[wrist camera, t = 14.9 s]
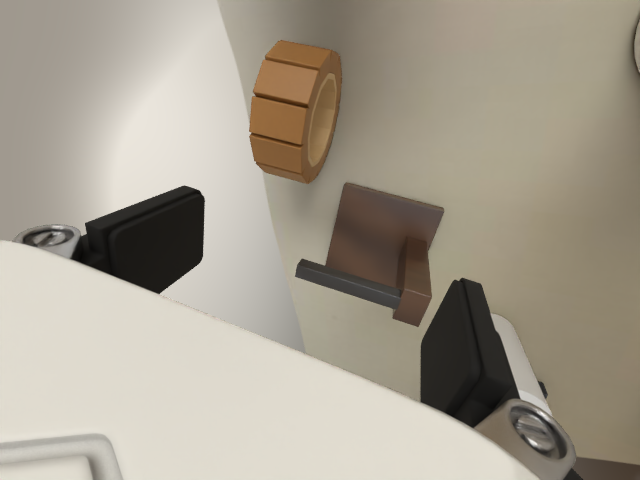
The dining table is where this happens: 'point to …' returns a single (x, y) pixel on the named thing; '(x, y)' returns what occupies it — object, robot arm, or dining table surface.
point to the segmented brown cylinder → (295, 110)
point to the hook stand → (380, 251)
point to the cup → (519, 364)
